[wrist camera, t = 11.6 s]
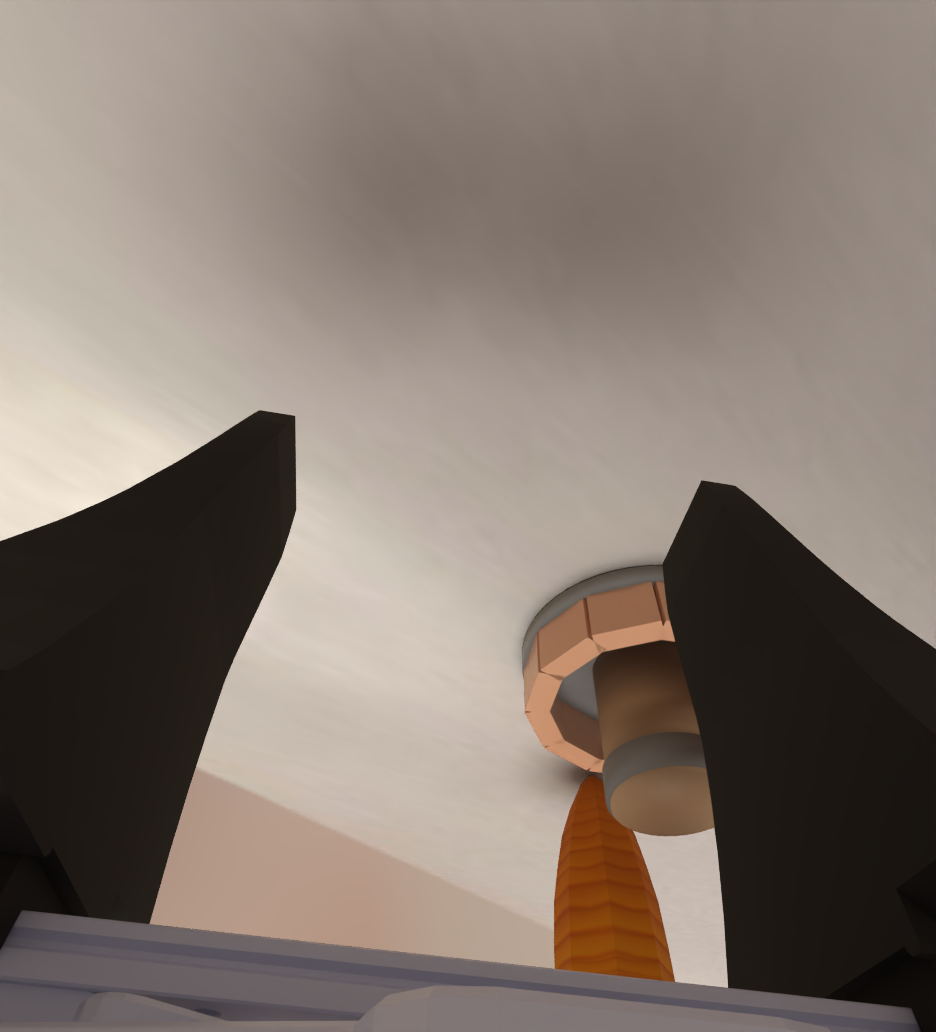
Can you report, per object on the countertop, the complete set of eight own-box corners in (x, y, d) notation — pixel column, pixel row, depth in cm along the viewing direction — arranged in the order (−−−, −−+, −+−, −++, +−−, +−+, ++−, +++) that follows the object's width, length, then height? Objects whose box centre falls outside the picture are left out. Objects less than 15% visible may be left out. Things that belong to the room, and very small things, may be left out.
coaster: (814, 586, 25) (843, 642, 23) (711, 736, 32) (726, 791, 29) (553, 547, 25) (557, 600, 22) (502, 708, 31) (501, 762, 29)
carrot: (637, 799, 36) (702, 1192, 24) (546, 800, 36) (565, 1185, 24) (641, 748, 33) (718, 1169, 21) (542, 750, 33) (562, 1162, 21)
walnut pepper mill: (710, 630, 26) (757, 769, 21) (693, 702, 29) (730, 838, 24) (591, 632, 26) (611, 768, 22) (586, 703, 29) (602, 837, 24)
